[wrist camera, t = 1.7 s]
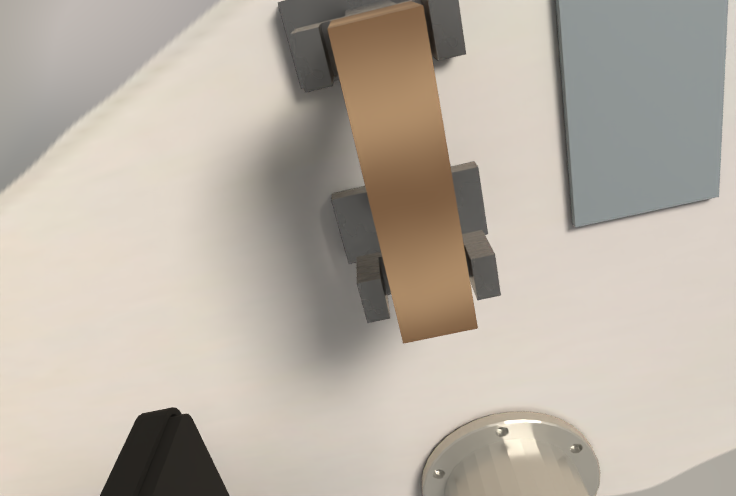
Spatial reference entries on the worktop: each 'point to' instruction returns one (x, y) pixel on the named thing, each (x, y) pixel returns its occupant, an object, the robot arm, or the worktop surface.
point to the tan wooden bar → (405, 166)
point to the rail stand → (352, 208)
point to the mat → (641, 103)
